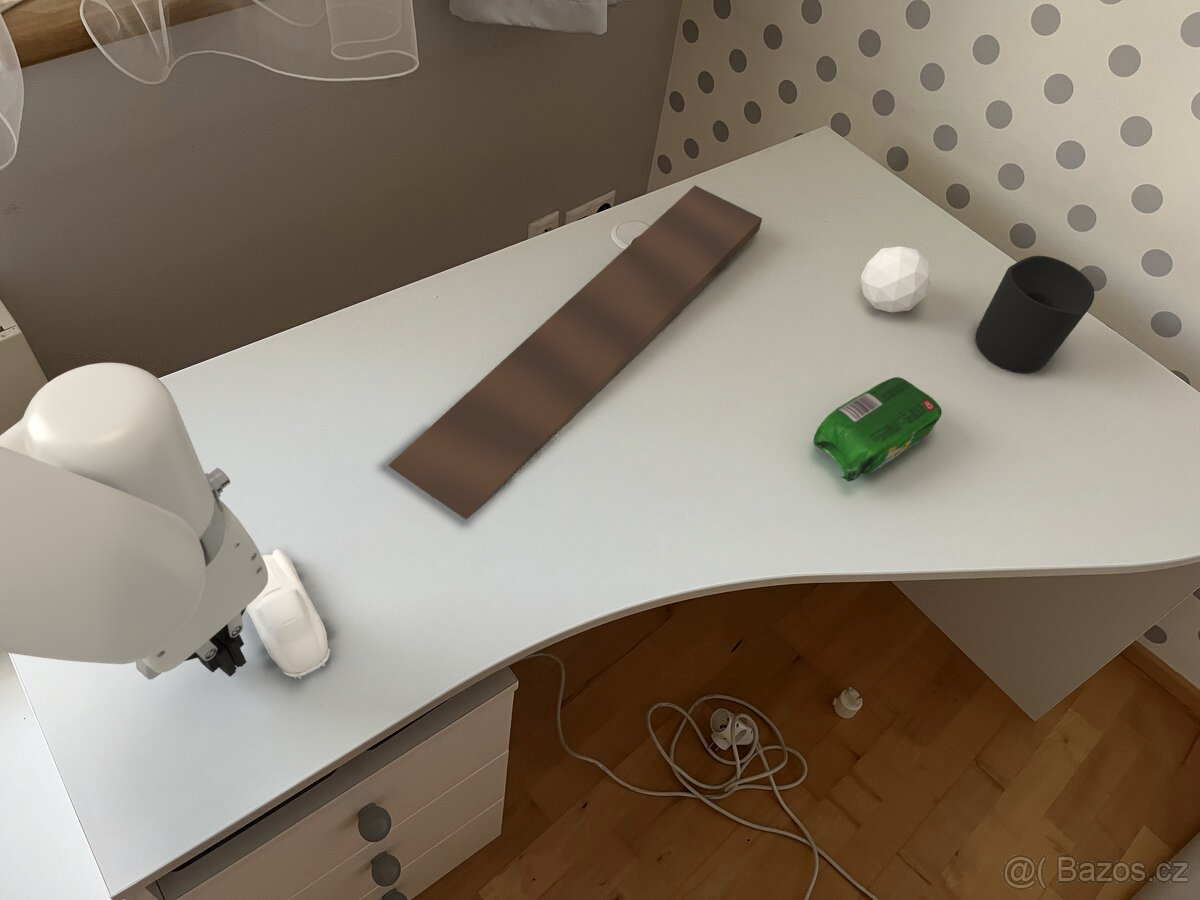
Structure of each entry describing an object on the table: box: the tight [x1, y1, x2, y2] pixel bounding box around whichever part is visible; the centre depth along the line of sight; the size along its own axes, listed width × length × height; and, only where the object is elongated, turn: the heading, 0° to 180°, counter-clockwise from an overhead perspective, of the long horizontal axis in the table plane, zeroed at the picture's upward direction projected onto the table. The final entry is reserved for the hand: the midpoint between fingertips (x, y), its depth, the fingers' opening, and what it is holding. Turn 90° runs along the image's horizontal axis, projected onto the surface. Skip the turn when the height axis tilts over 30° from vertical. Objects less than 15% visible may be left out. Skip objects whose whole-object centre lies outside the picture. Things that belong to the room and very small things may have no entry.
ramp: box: [387, 185, 763, 520], centre depth 99 cm, size 56×10×5 cm, turn 144°
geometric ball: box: [860, 245, 932, 313], centre depth 106 cm, size 8×8×8 cm
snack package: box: [813, 376, 943, 482], centre depth 92 cm, size 7×16×5 cm, turn 127°
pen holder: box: [975, 255, 1095, 373], centre depth 102 cm, size 9×9×10 cm
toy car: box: [245, 548, 331, 680], centre depth 74 cm, size 5×12×4 cm, turn 34°
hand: (225, 659), depth 71 cm, fingers closed
